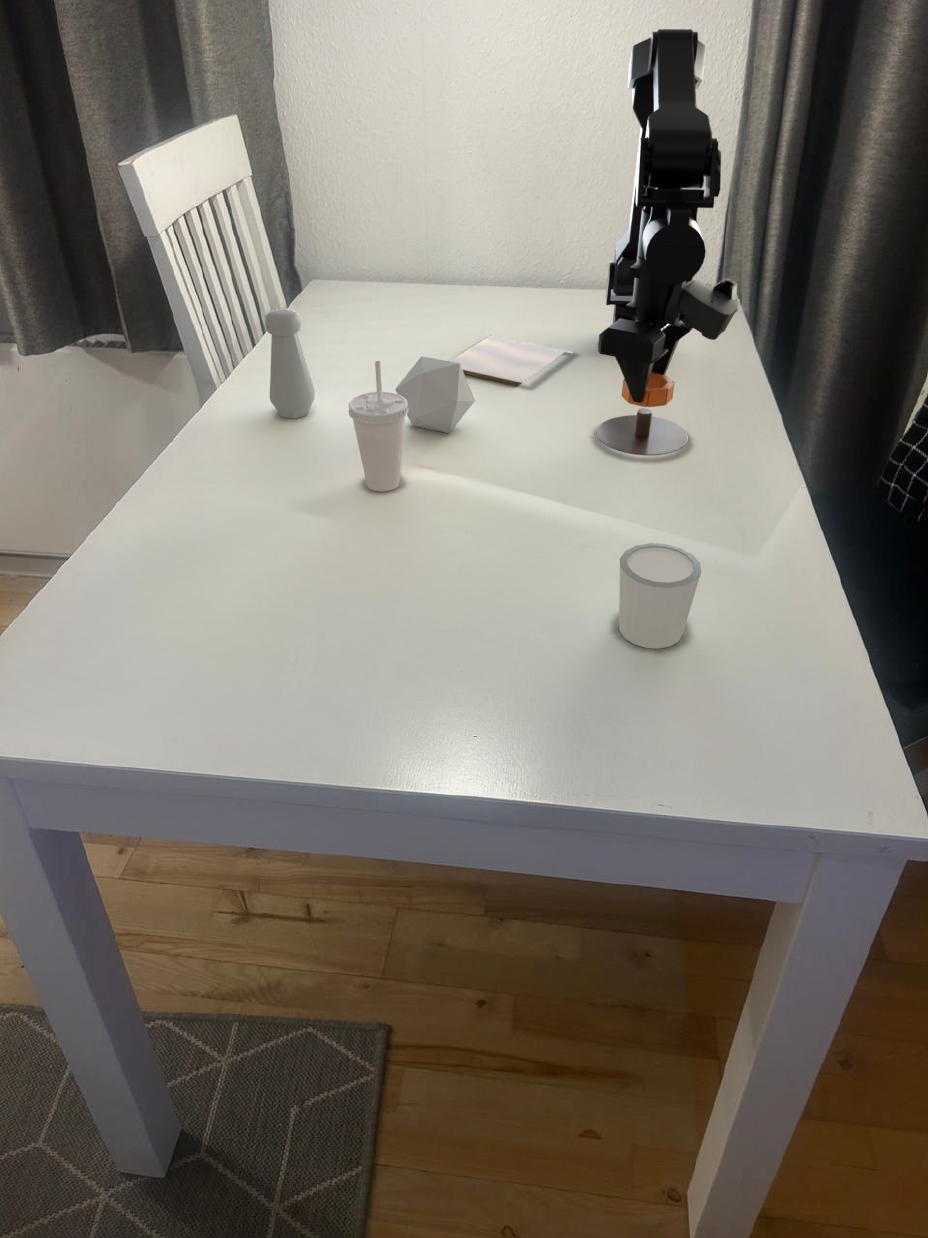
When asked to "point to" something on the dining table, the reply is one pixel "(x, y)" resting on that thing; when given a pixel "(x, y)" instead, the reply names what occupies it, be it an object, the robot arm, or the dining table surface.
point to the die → (436, 394)
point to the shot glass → (656, 593)
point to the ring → (653, 391)
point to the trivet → (506, 359)
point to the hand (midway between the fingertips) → (647, 392)
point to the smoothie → (380, 434)
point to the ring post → (642, 434)
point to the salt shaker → (288, 366)
